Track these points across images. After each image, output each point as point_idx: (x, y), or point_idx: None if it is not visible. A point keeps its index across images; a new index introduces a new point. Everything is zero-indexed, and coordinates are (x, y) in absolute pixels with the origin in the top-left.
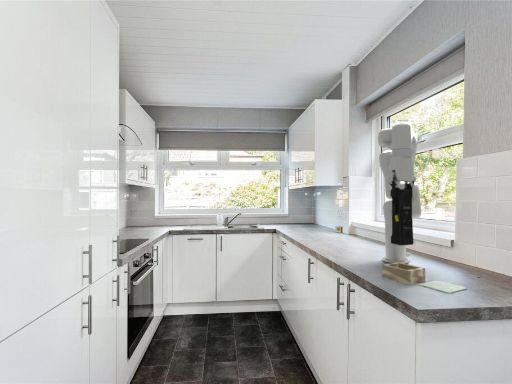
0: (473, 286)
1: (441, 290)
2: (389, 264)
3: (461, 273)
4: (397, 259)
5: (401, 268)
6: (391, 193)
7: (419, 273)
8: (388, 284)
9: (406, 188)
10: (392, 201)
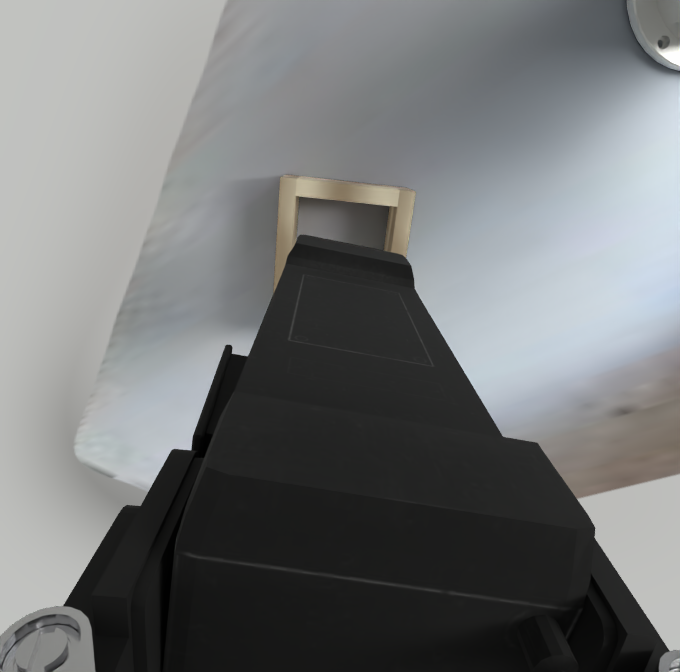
0: None
1: None
2: (320, 196)
3: (647, 349)
4: (670, 20)
5: (392, 219)
6: (208, 448)
7: None
8: (201, 267)
9: (585, 660)
10: (202, 411)
